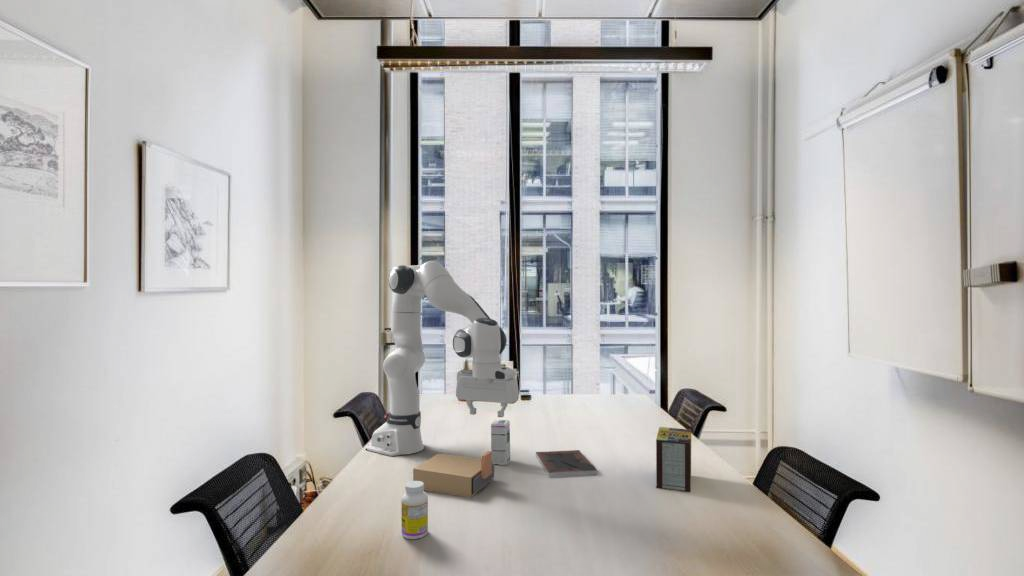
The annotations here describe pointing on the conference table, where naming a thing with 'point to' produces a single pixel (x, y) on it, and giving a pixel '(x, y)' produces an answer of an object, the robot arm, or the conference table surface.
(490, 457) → the tray
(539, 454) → the picture frame
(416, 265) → the robot arm
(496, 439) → the syrup box
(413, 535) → the supplement bottle
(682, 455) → the protein box
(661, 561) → the conference table surface
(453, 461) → the sleeve
